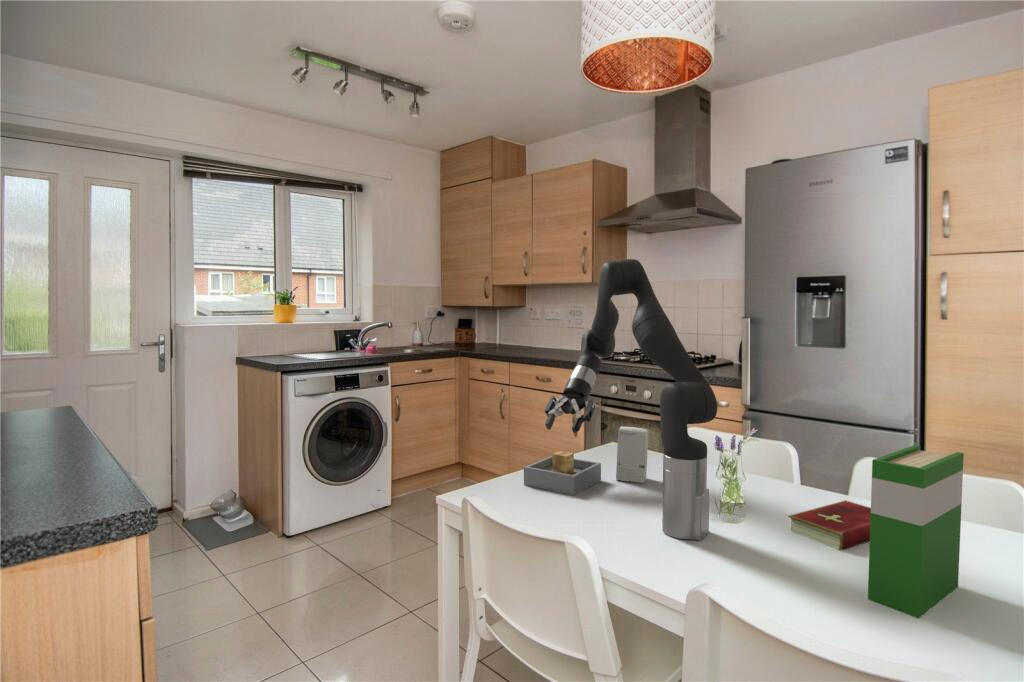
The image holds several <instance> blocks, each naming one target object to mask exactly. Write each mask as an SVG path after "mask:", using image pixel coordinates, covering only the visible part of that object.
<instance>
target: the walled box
mask: <svg viewBox="0 0 1024 682" xmlns="http://www.w3.org/2000/svg"><path fill="white" fill-rule="evenodd" d="M601 480H602V463H601V462H598V461H597V462H596V461H589V460H585V459H580V458H574V475H569V474H564V473H559V472H553V471H552V455H550V456H548V457H545V458H542V459H541V460H538V461H536V462H533V463H531V464H528V465H525V466H524V467H523V485H524V486H528V485H529V486H528V487H533V486H534V488H537V487H538V488H537V489H542V488H543V489H544V490H547V489H548V490H547V491H552V490H553V491H552V492H556V491H557V492H556V493H561V492H562V493H563V494H567V495H571V496H575V495H577V494H579V493H581V492H582V491H584V490H586V489H588V488H589V486H590V487H591V486H593V485H595V484H596V482H597V483H599V482H601ZM598 481H599V482H598ZM594 483H595V484H594ZM587 487H588V488H587ZM543 489H542V490H543ZM580 491H581V492H580Z"/></svg>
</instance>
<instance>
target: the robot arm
mask: <svg viewBox="0 0 1024 682" xmlns="http://www.w3.org/2000/svg"><path fill="white" fill-rule="evenodd" d="M598 278H599V279H598V286H597V287H598V288H597V301H596V310H595V314H594V317H593V320H592V325H591V329H588V330H586V331H585V332H584V333H583V335H582V337H581V341H580V343H581V344H580V353H579V357H578V360H577V362H576V364H575V366H574V368H573V370H572V371H571V373H570V375H569V378H568V380H567V382H566V384H565V387H564V389H563V391H562V396H561V397H560V398H557V397H556V396H555V395H553V396H550V399H549V401H548V403H547V405H546V406H545V408H544V411H543V412H544V413H545V415H546V417H547V418H546V420H545V422H544V425H545V427H546V429H547V430H551V429H552V427H553V425H554V422H555V420H556V418H558V417H559V416H560V417H561V416H562V415H564V414H566V415H567V414H569V415H575V414H576V416H577V417H576V418H575V419H574V422H573V424H572V427H571V430H572V432H573V433H574V434H577V433H578V432H579V431H580V429H581V427H582V425H583V423H585V422H587V423H588V422H591V420H592V417H593V415H594V412H595V408H596V404H595V402H594V400H593V399H589V398H590V395H591V394H592V390H593V388H594V386H595V383H596V379H597V378H598V374H599V372H600V369H601V368H602V361H601V359H600V358H603V359H605V358H606V359H607V358H609V357H611V356H612V355H613V354H614V351H615V350H616V349H615V348H616V337H615V336H616V335H615V331H616V330H617V326H618V324H619V320H620V314H619V310H618V308H617V307H616V305H615V304H614V302H613V300H612V297H613V296H621V295H622V296H623V295H630V294H633V295H634V296H635V297H636V299H637V306H636V309H635V313H634V315H633V318H632V324H631V331H632V335H633V336H634V339H635V340H636V342H637V345H638V347H639V348H640V350H641V352H642V353H643V354H644V356H646V357H647V358H648V359H649V360H650V361H651V362H652V363H654V364H655V365H657V367H660V369H662V370H664V371H665V372H666V373H668V375H670V376H671V377H672V378H673V380H674V381H675V382H670V383H666V384H665V385H664V386H663V388H662V389H661V392H660V397H659V412H660V413H659V414H660V415H659V417H660V438H661V442H662V449H663V450H662V451H663V452H662V453H663V454H662V520H661V521H662V522H661V523H662V525H661V526H662V532H663V533H664V534H666V535H667V536H670V537H672V538H676V539H682V540H697V541H702V540H703V538H704V537H706V535H707V534H708V533H709V532H710V489H709V488H707V487H708V486H707V483H708V482H707V480H708V477H707V475H708V474H707V473H708V445H707V444H706V442H704V441H703V440H701V439H698V438H694V437H692V436H690V435H689V431H688V425H697V424H698V425H699V424H705V423H710V422H711V421H713V420H714V419H715V418H716V417H717V414H718V400H717V398H716V395H715V393H714V390H713V388H712V386H711V385H710V383H709V382H708V380H707V378H705V376H704V375H703V373H702V372H701V371H700V369H699V368H698V367H697V365H696V364H695V362H694V361H693V359H692V358H691V356H690V354H689V353H688V351H687V349H686V348H685V346H684V345H683V343H682V341H681V339H680V338H679V335H678V334H677V331H676V330H675V328H674V326H673V323H671V320H670V318H669V317H668V316H667V314H666V313H665V310H664V309H663V307H662V305H661V304H660V302H659V300H658V298H657V296H656V293H655V292H654V289H653V287H652V285H651V282H650V280H649V277H648V275H647V272H646V271H645V268H644V267H643V264H642V263H641V261H639V260H638V259H635V258H626V259H621V260H620V259H618V260H611V261H610V260H609V261H607V262H605V263H604V264H603V265H602V267H601V269H600V273H599V277H598ZM584 408H585V411H584V414H583V413H582V412H583V411H582V410H583V409H584Z"/></svg>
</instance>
